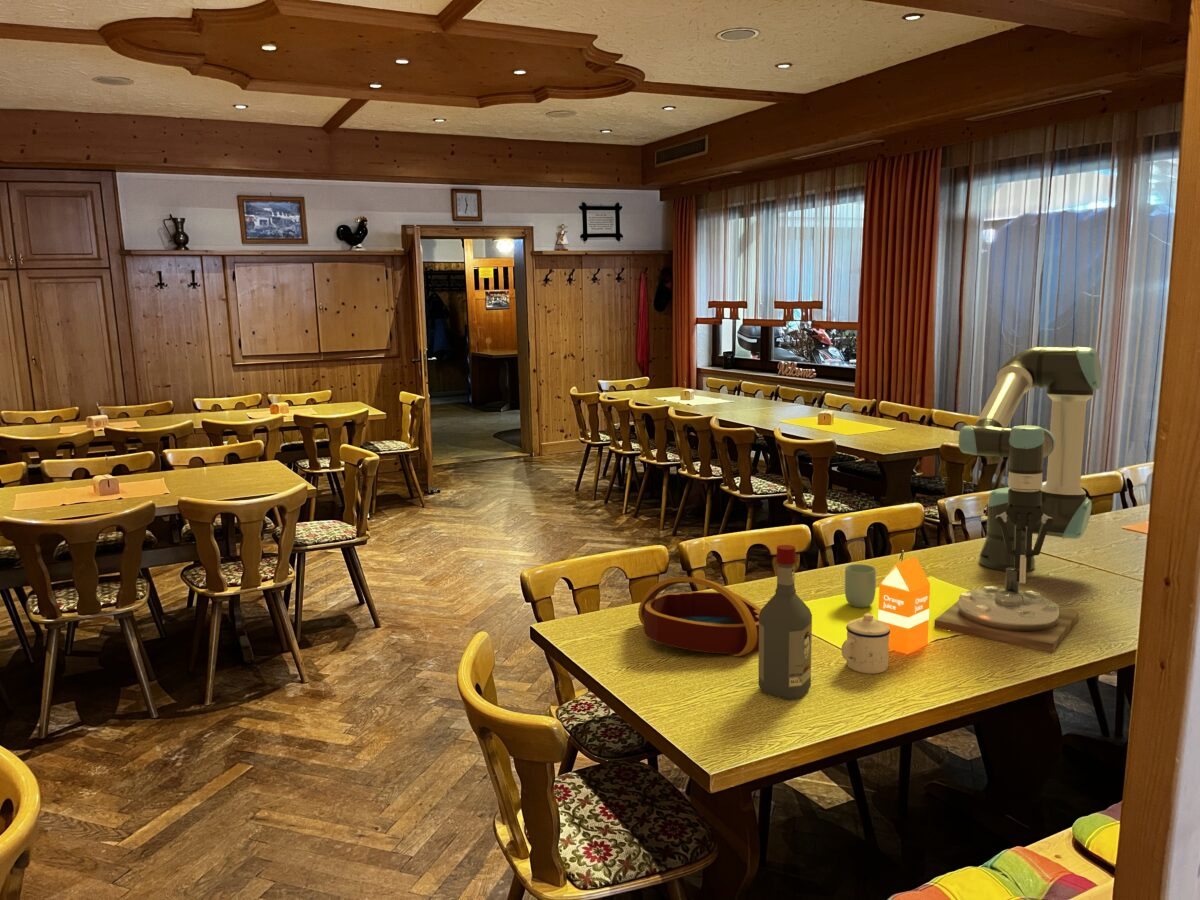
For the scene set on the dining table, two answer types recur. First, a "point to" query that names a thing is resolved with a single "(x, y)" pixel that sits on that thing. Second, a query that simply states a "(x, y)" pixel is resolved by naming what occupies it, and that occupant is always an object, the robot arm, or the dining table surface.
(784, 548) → the liquor
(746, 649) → the decorative basket
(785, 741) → the dining table surface
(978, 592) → the crank wheel
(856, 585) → the cup
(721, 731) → the dining table surface
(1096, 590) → the dining table surface
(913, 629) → the orange juice
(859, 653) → the teacup with lid
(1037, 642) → the base plate
